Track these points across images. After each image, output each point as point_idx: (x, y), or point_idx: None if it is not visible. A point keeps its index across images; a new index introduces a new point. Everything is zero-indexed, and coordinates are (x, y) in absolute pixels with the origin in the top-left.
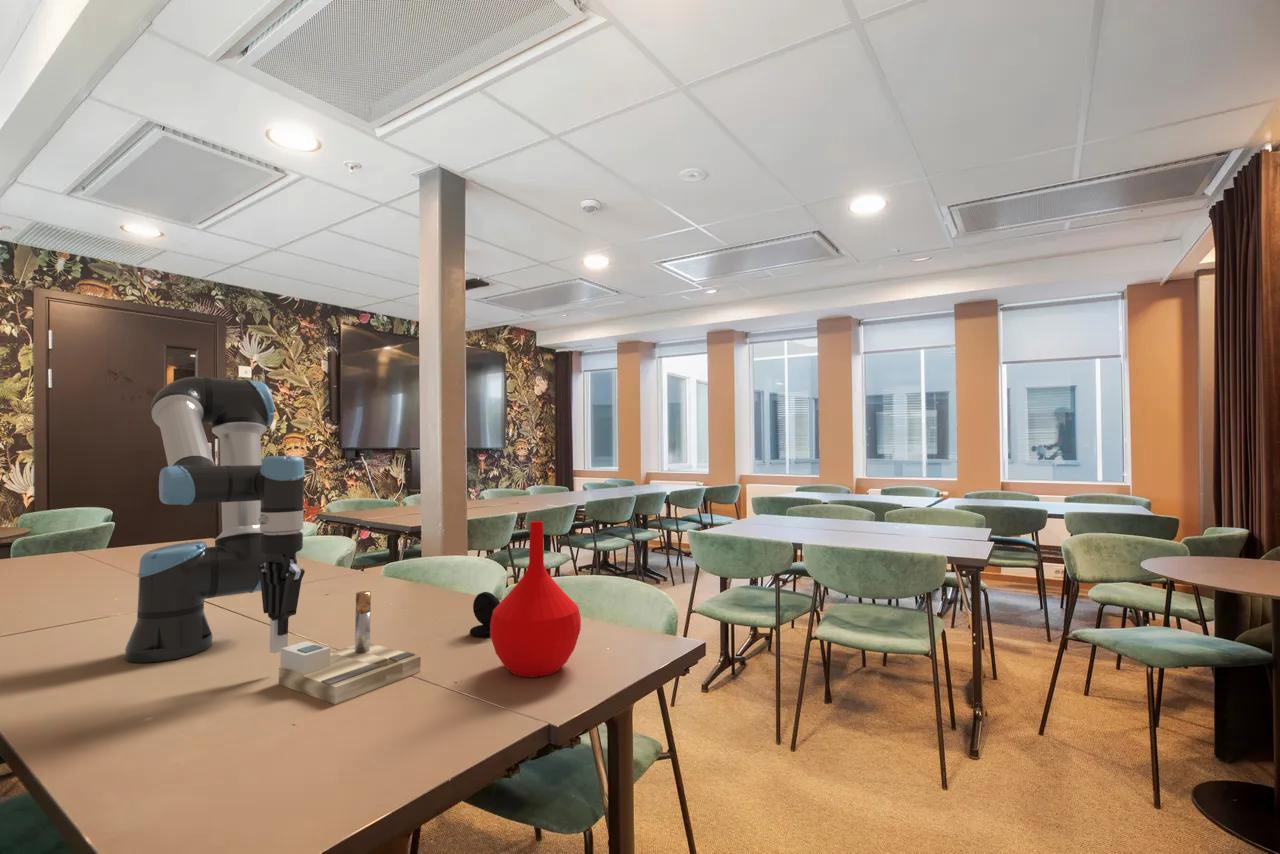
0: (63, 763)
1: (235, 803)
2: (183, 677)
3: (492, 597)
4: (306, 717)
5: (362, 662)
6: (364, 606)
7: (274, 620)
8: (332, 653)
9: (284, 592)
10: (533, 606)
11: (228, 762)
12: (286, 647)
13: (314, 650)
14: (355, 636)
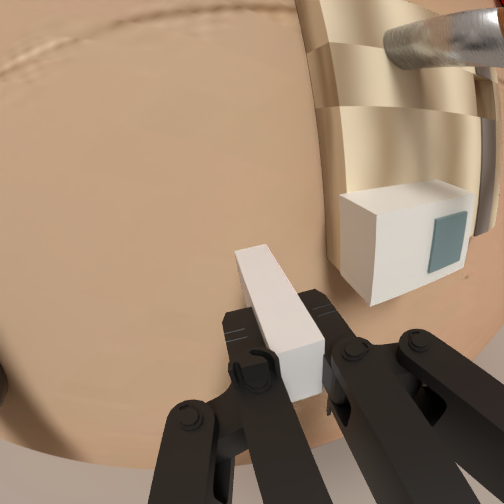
0: (339, 432)
1: (489, 327)
2: (110, 381)
3: None
4: (467, 260)
5: (463, 117)
6: None
7: (322, 390)
8: (356, 109)
9: (479, 473)
10: None
11: (460, 334)
12: (378, 291)
13: (462, 236)
14: (440, 64)
